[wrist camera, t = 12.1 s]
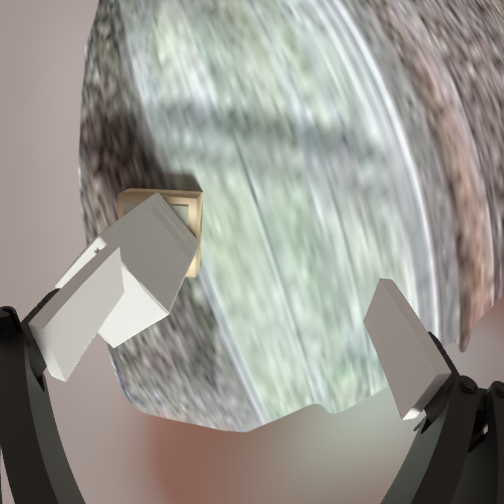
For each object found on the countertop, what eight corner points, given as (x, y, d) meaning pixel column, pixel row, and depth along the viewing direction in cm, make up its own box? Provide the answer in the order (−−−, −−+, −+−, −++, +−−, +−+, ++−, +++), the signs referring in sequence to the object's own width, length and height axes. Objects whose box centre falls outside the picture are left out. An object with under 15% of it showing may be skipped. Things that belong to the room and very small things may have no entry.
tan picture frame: (129, 188, 38) (116, 195, 34) (203, 191, 38) (196, 199, 34) (133, 257, 42) (122, 270, 38) (200, 264, 42) (195, 278, 38)
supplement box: (114, 230, 36) (50, 284, 22) (158, 189, 33) (96, 231, 20) (155, 279, 39) (112, 351, 25) (203, 245, 36) (170, 315, 23)
